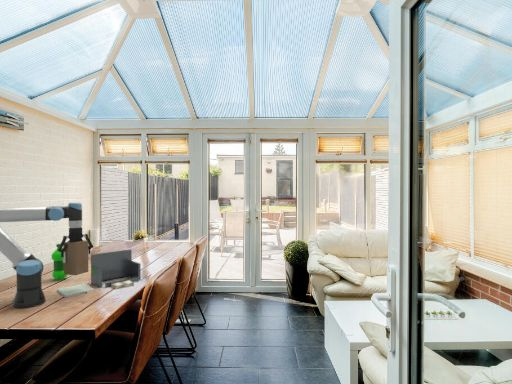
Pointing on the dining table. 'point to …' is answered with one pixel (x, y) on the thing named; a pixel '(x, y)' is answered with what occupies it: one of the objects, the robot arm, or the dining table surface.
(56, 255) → the plastic bottle
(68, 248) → the wooden block
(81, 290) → the sage mat
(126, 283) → the cream offcut
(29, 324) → the dining table surface
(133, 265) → the rack
